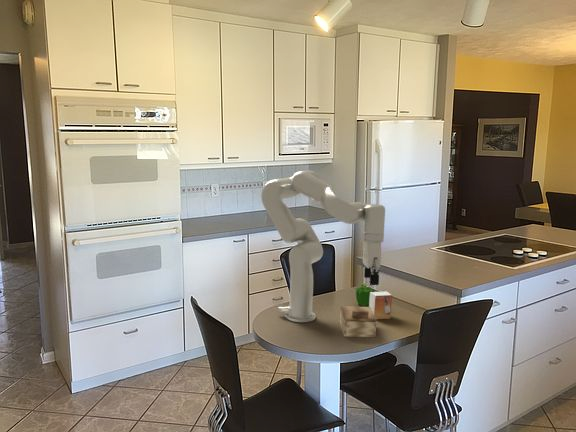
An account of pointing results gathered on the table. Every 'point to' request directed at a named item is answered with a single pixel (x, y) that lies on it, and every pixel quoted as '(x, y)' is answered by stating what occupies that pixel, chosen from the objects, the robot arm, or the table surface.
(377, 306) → the small box
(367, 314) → the lid
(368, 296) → the bell pepper
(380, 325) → the table surface
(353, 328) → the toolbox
